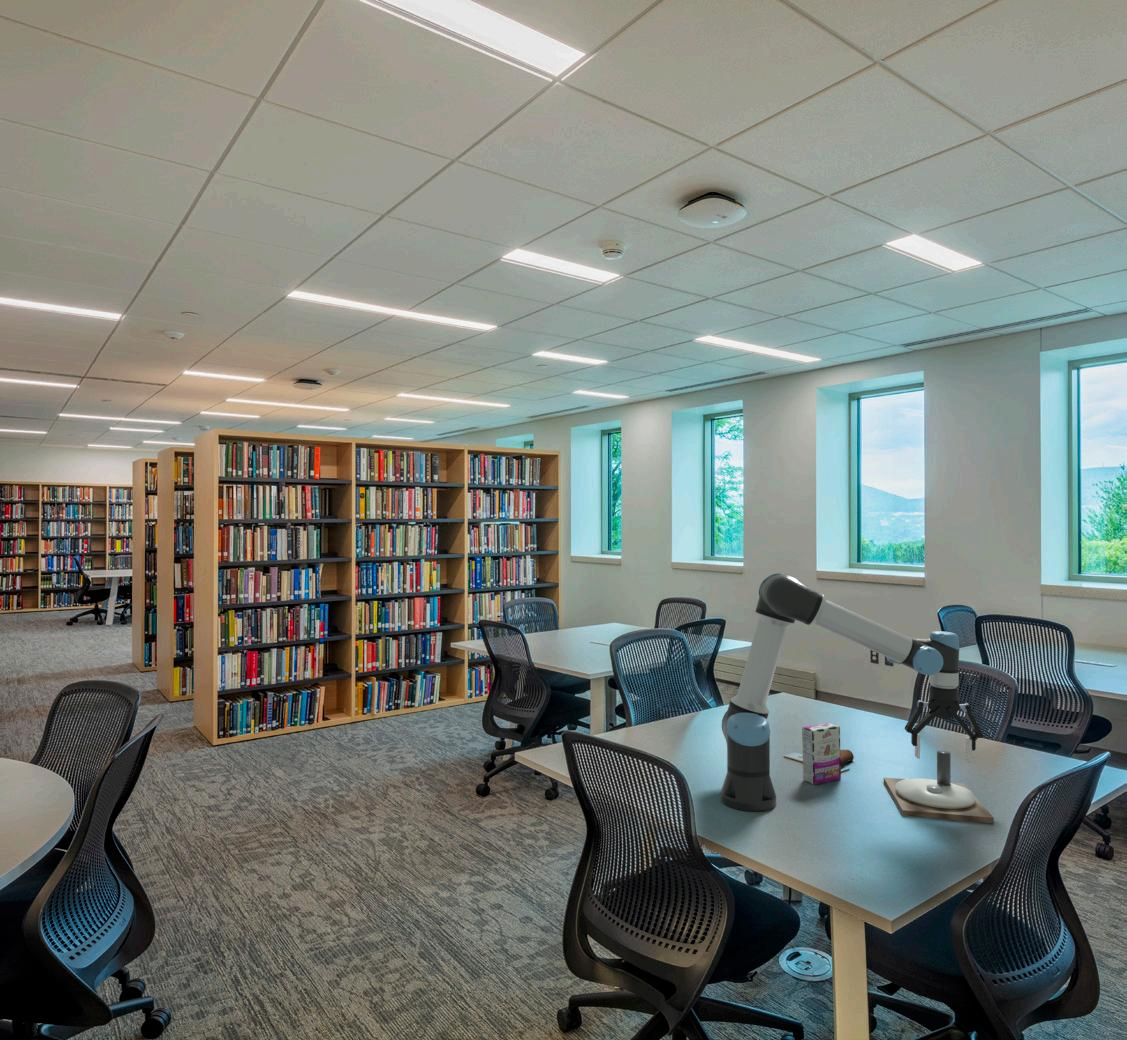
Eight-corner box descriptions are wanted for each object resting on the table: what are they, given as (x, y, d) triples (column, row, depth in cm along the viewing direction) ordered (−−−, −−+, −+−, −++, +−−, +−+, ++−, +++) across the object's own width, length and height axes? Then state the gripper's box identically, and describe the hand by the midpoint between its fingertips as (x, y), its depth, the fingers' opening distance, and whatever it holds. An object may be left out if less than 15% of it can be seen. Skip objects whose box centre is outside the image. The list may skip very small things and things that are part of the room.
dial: (962, 814, 192) (962, 775, 192) (884, 795, 206) (884, 758, 206) (984, 794, 206) (984, 758, 206) (910, 777, 220) (910, 743, 220)
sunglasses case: (829, 755, 247) (838, 740, 245) (846, 769, 243) (856, 754, 241) (804, 767, 234) (814, 752, 232) (822, 783, 230) (833, 767, 228)
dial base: (902, 815, 196) (902, 809, 196) (883, 782, 221) (883, 776, 221) (993, 823, 191) (993, 817, 191) (963, 788, 216) (963, 782, 216)
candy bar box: (829, 774, 228) (828, 722, 228) (841, 779, 223) (841, 726, 223) (801, 780, 223) (801, 726, 223) (813, 785, 219) (813, 730, 219)
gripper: (987, 685, 212) (986, 758, 212) (894, 680, 218) (893, 751, 218) (996, 691, 205) (995, 767, 205) (900, 685, 211) (899, 759, 211)
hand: (942, 759), depth 212 cm, fingers open, 13 cm apart
